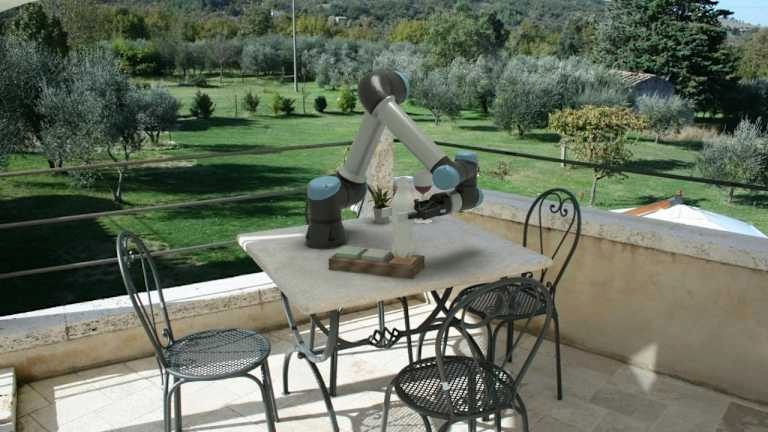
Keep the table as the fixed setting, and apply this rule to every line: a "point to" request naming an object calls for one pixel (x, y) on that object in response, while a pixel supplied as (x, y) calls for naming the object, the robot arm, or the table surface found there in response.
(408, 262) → the orange square block
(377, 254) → the key middle
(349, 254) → the key sage
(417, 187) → the wineglass
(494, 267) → the table surface
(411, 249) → the water bottle
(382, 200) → the house plant
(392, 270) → the keypad
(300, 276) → the table surface
